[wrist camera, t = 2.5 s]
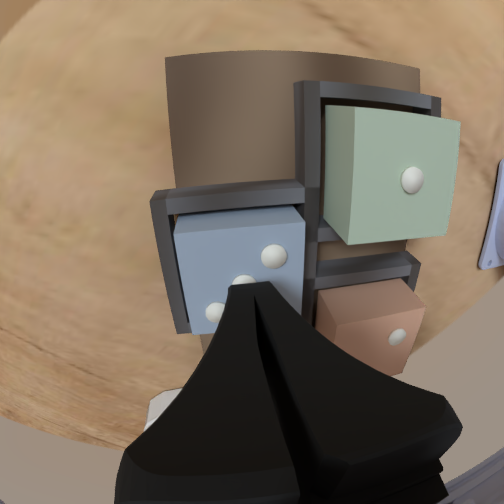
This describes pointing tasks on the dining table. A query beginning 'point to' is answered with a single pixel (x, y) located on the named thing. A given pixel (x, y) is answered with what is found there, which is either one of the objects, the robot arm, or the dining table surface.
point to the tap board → (275, 154)
